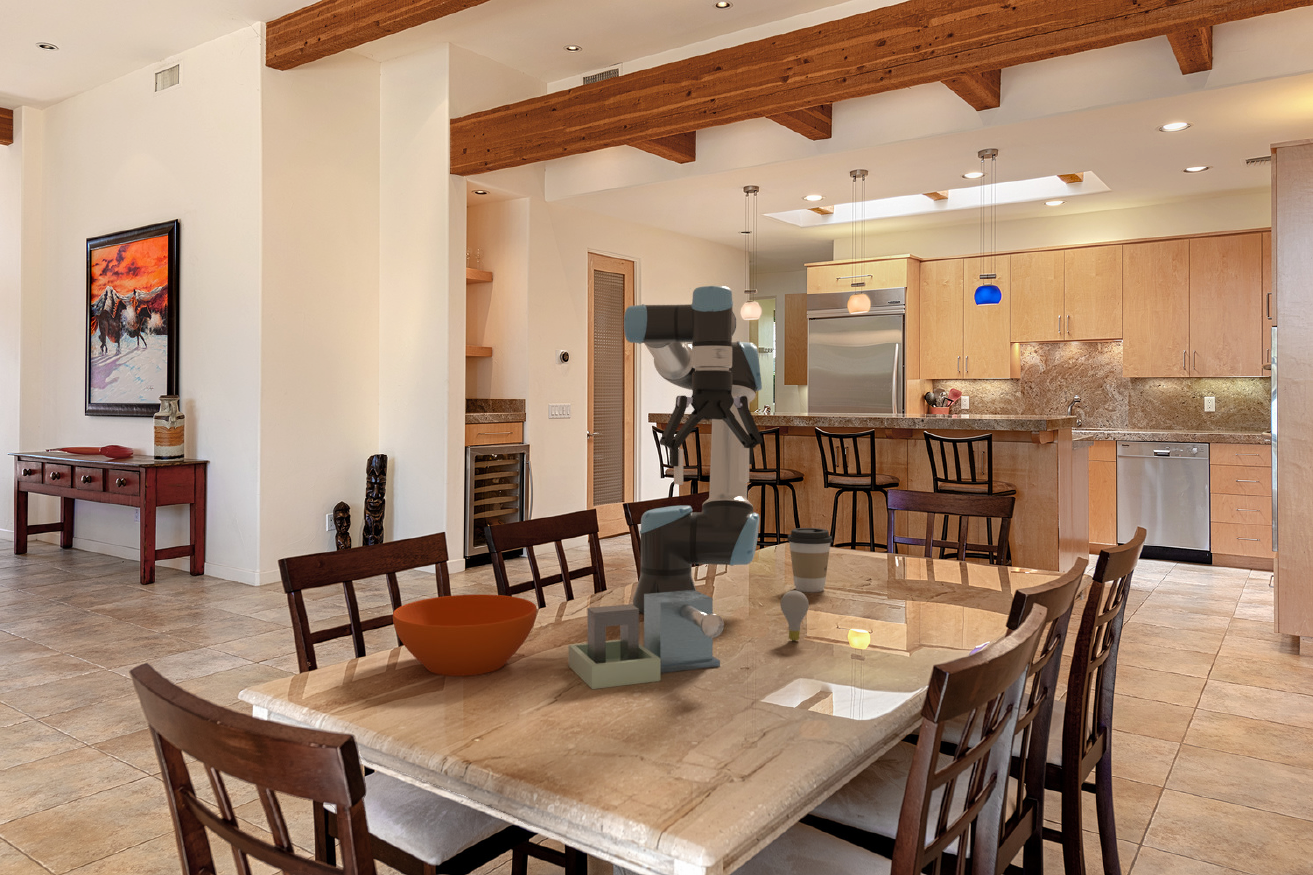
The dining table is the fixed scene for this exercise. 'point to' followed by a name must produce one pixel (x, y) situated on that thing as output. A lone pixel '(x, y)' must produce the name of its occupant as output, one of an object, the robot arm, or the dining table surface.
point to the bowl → (464, 631)
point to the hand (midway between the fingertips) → (711, 483)
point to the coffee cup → (809, 558)
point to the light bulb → (794, 611)
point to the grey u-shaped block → (611, 617)
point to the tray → (614, 666)
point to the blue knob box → (681, 629)
